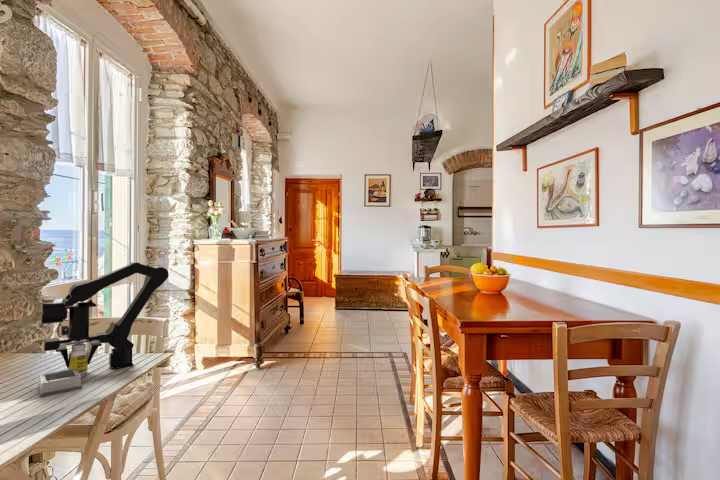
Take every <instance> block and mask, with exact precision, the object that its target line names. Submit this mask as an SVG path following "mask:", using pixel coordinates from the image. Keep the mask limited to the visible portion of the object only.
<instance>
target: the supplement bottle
mask: <svg viewBox="0 0 720 480" xmlns="http://www.w3.org/2000/svg"><path fill="white" fill-rule="evenodd" d="M86 348H87V343H79V344H71V351H70V352H68V360H69V368H67V370H70V369H76V368H77V370H78V372H79V374H80V376H81V375H84V374H87V372H88V365H89V364H88V352H89V350H87V349H86Z"/></svg>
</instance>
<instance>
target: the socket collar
mask: <svg viewBox="0 0 720 480" xmlns="http://www.w3.org/2000/svg"><path fill="white" fill-rule="evenodd" d="M38 380H39V381H38V384H37V388H38V393H39V397H40V398H42V397H47V396H51V395H56V394H61V393H66V392H71V391H77V390H81V389H83V386H82V384H81V383H82V382H81V381H82V376H81V375H80V374H79V372H78V370H77V368H76V369H70V370H68V369H65V370H59V371H53V372H48V373H41V374H39V379H38Z"/></svg>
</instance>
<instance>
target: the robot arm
mask: <svg viewBox="0 0 720 480" xmlns="http://www.w3.org/2000/svg"><path fill="white" fill-rule="evenodd" d="M135 274H138V275H139V274H140V275H142V276H145V278H144V281H143V284H142V286H141V288H140V290H139V291H138V292H137V294H136V296H135V298H134V299H133V300H132V301H131V303H130V305H129V306H128V307H127V309H126V311H125V312H124V313H123V315H122V317H121V318H120V319H119V320H118V321H116V322H114V321H111V323H110V324H109V327H108V328H107V329H106V330H104V331H102V332H96V335H91V336H90V313H91V312H90V311H91V310H90V309H91V308H94V307H97V306H98V305H97V304H96V303H95V302H93V300H92V299H91V298H92V297H93V296H95V295H97V294H98V293H99V292H100V291H101V290H103V289H105V288H107V287H109V286H111V285H113V284H116V283H118V282H120V281H122V280H124V279H126V278H129V277H131V276H133V275H135ZM168 278H169V271H168V269H167V268H166V267H163V266H159V265H155V266H150V265H146V264H142V263H140V262H137V261H132V262H130V263H128V264H126V265H124V266H122V267H120V268H116V269H115V270H113V271H111V272H109V273H106V274H104V275H101V276H98V278H95V279H90V280H84V281H82V282H77V283H75V284H73V285H71V286H70V288H69V289H68V294H67V295H66V296H65V297H64V298H63V300H61V302H43V303H42V304H41V305H42V306H41V312H40V325H47V324H48V325H49V324H57V323H59V324H60V323H63V322H64V321H65V320H67V319H68V325H63V326H62V325H61V326H60V327H61V328H60V336H61V337H62V336H63V337H64V336H66V339H60V338H59V337H54V338H45V339H44V340H43V342H42V345H43V346H42V349H43V351H44V352H49V351H55V352H56V353H60V354H61V355H62V357H63V359H64V363H65V366H66V368H67V369H68V368H69V351H68V348H67V346H69V345H70V346H72V345H74V344H79V343H85V344H87V343H88V344H89V345H88V365H90V363H91V361H92V359H93V357H94V354H95V353H96V351H97V350H98V348H99V347H102V345H103V344H109V346H110V347H112V348H111V349H110V353H109V355H108V365H109V367H110V368H112V369H113V370H115V369H120V368H128V367H131V366H133V367H134V363H133V348H134V343H133V342H132V341H131V340H130V339H128V338H129V336H130V333H131V330H132V325H133V324H134V323H135V321H136V320H137V318H138V316H139V315H140V313H141V312H142V310H143V309H144V307H145V306H146V304H147V303H148V301H149V300H150V299H151V298H150V297H152V295H153V294H154V292H155V291H156V290H157V289H159V288H160V287H161V286H162V285H163V284H164V283H165V282H166V281H167V279H168ZM75 304H76V305H75ZM68 310H69V311H68Z"/></svg>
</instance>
